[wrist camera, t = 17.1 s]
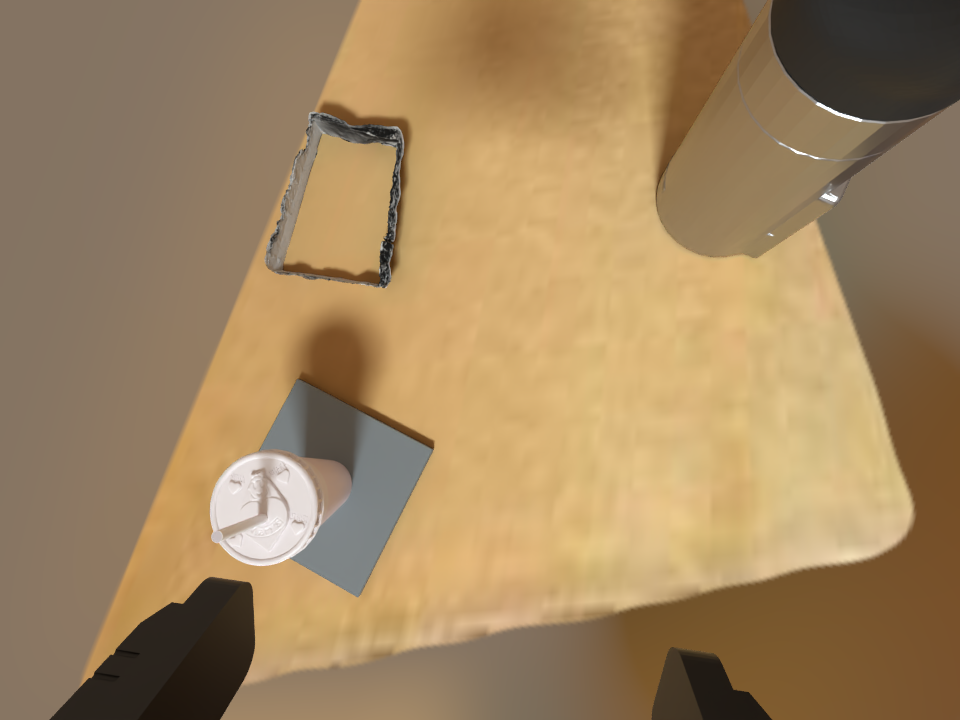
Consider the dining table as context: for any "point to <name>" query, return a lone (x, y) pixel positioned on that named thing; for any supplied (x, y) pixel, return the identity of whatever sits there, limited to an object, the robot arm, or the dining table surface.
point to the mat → (373, 469)
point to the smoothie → (275, 504)
